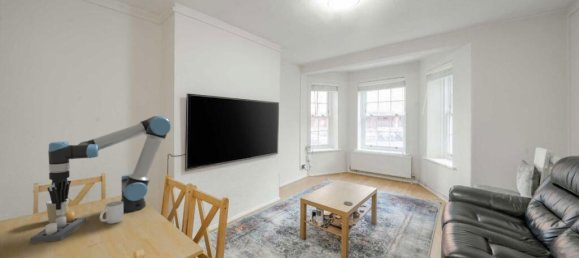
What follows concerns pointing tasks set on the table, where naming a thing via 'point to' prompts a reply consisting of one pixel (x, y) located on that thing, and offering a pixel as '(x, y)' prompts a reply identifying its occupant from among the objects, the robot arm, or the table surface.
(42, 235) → the panel
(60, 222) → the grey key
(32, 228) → the table surface
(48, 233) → the white rounded block
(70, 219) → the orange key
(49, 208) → the coffee cup
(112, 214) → the mug
